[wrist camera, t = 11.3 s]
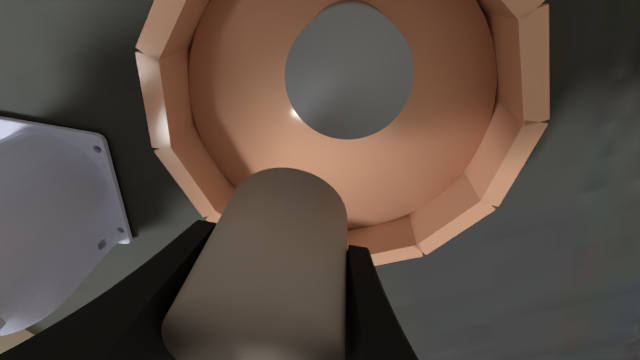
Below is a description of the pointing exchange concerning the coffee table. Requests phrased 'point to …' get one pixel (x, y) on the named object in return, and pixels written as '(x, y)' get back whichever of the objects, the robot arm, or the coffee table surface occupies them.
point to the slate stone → (349, 71)
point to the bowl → (364, 153)
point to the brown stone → (267, 276)
